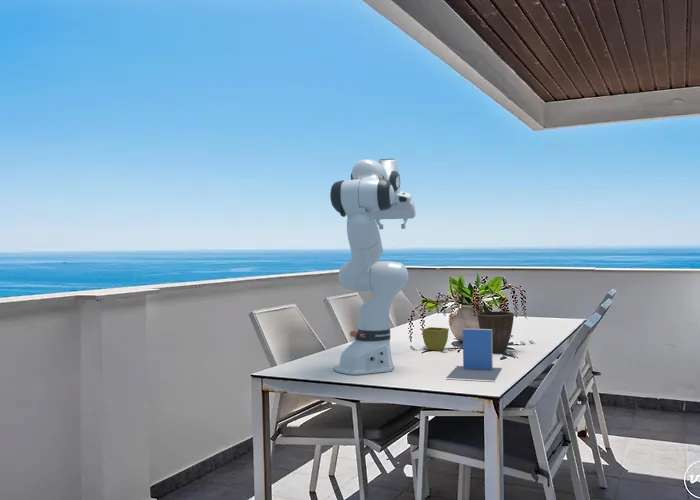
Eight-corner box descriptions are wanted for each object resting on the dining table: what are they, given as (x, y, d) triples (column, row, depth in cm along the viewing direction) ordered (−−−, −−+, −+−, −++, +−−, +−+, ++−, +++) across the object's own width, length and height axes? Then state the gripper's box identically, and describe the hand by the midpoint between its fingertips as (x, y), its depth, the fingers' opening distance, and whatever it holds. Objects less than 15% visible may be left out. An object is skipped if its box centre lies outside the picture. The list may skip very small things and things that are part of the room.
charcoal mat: (495, 382, 210) (495, 380, 210) (445, 379, 215) (445, 377, 215) (502, 369, 231) (502, 367, 231) (457, 367, 236) (457, 365, 236)
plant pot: (497, 356, 258) (497, 316, 258) (470, 351, 270) (469, 313, 270) (522, 352, 267) (521, 313, 267) (494, 347, 279) (493, 310, 279)
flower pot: (449, 349, 278) (449, 328, 278) (441, 352, 270) (441, 330, 270) (430, 347, 282) (430, 327, 282) (422, 350, 275) (421, 329, 274)
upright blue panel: (491, 370, 227) (491, 330, 227) (463, 368, 230) (462, 329, 230) (492, 368, 229) (492, 329, 229) (464, 367, 233) (463, 328, 233)
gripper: (363, 199, 269) (366, 231, 273) (412, 197, 264) (415, 230, 268) (366, 195, 274) (369, 227, 279) (414, 194, 269) (417, 225, 274)
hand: (392, 228), depth 273 cm, fingers open, 8 cm apart
